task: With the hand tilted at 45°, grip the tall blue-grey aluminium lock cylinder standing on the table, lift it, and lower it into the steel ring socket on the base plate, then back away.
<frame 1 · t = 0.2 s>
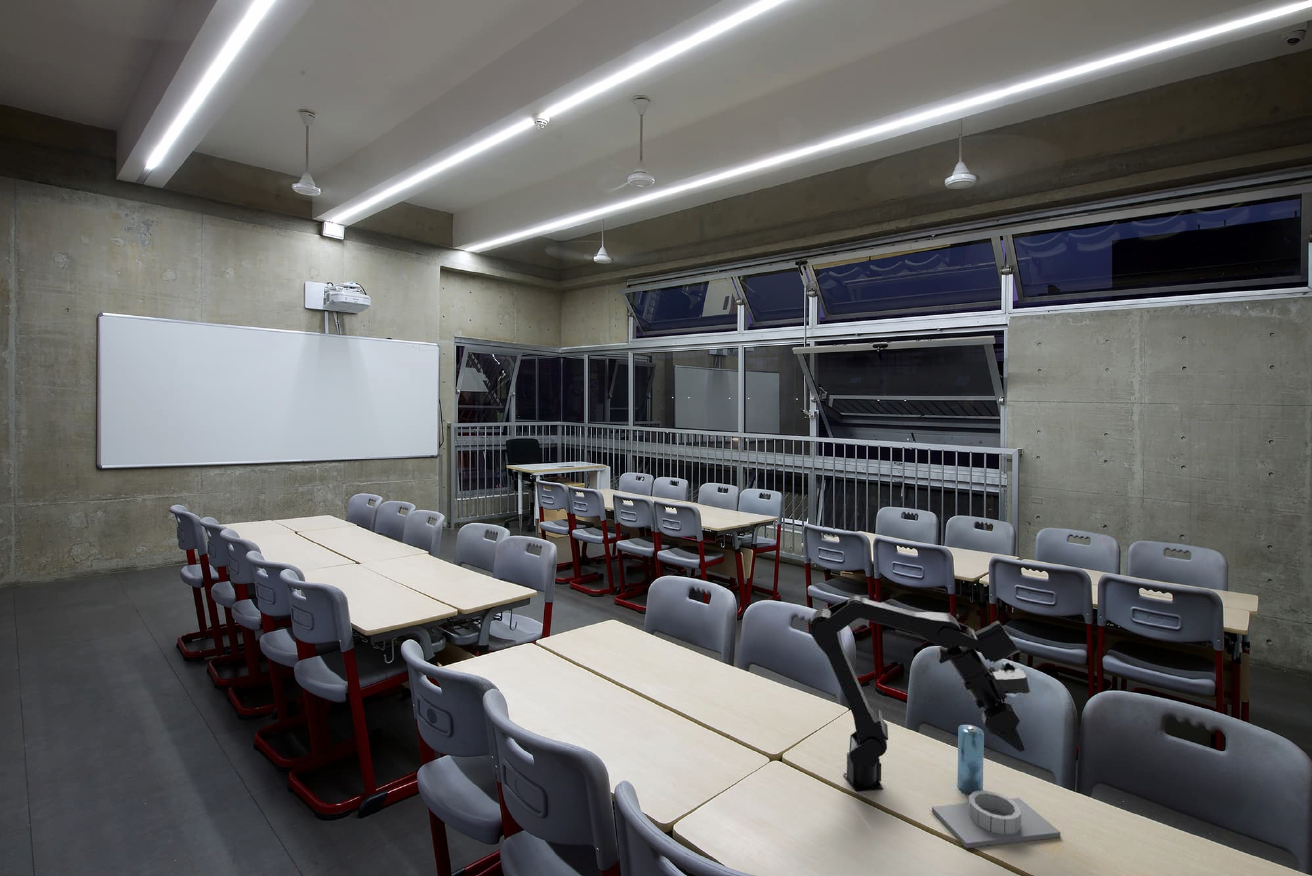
hand: (1017, 739, 128), 15 cm above the table, tool tilted 35°, fingers open, 9 cm apart
lock cylinder: (969, 788, 136), on the table
socket plate: (994, 824, 124), on the table
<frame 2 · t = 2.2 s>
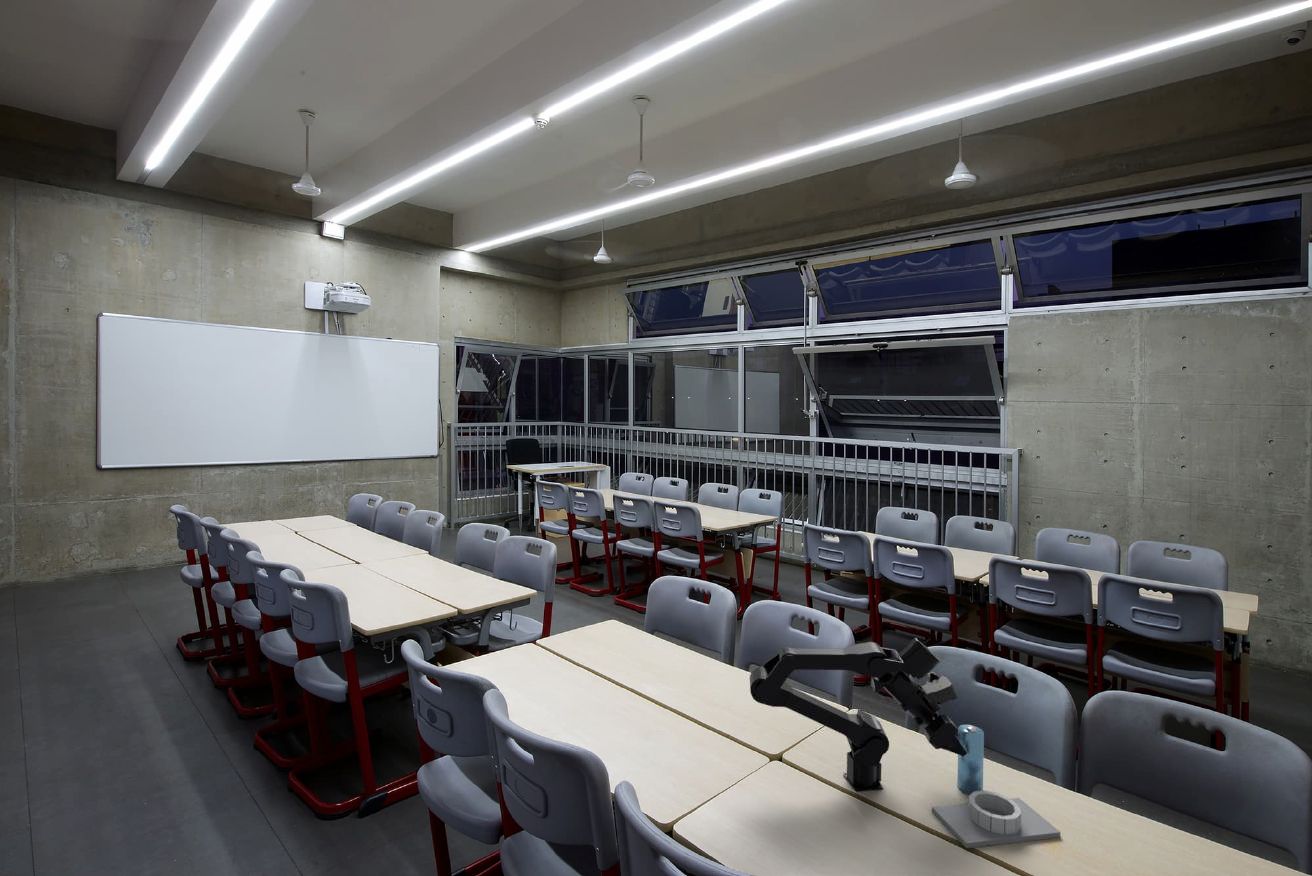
hand: (957, 743, 136), 10 cm above the table, tool tilted 45°, fingers open, 9 cm apart
nothing on the table moved.
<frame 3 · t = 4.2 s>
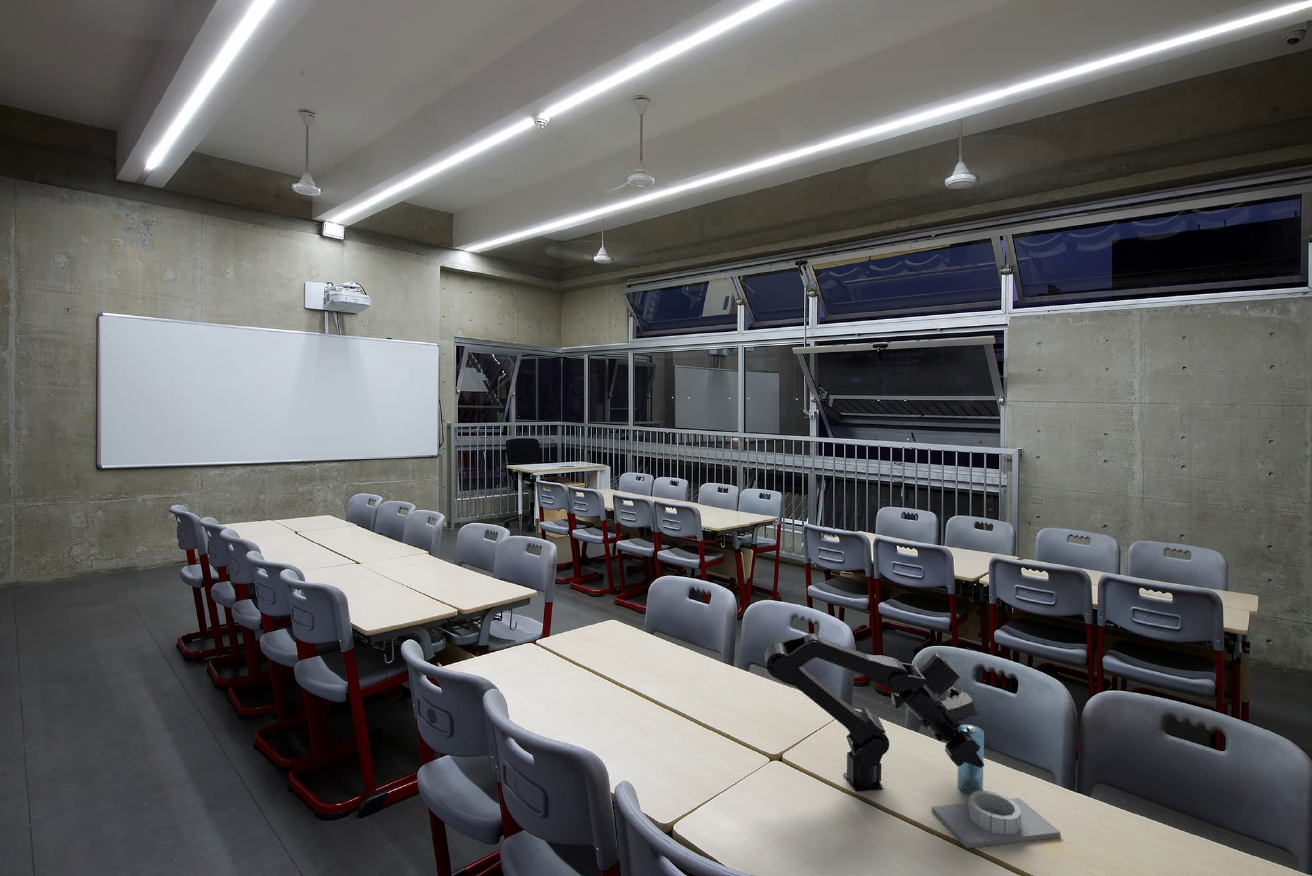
hand: (977, 759, 135), 7 cm above the table, tool tilted 45°, fingers closed on lock cylinder, 5 cm apart
lock cylinder: (970, 788, 136), on the table, touching gripper
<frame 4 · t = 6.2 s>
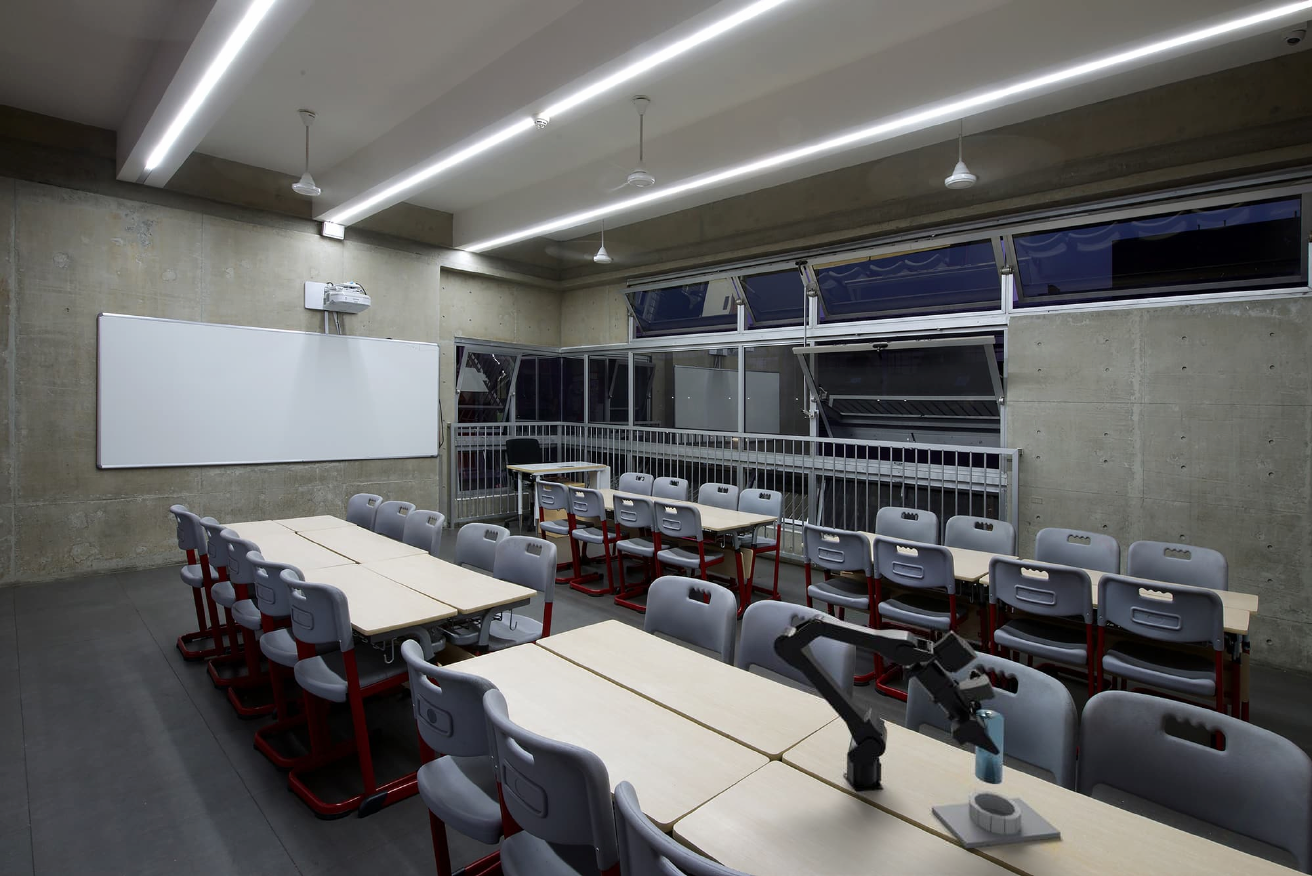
hand: (996, 747, 127), 14 cm above the table, tool tilted 45°, fingers closed on lock cylinder, 5 cm apart
lock cylinder: (988, 777, 128), point 7 cm above the table, touching gripper
when the fingers open (9 cm above the table, at t = 8.4 s): lock cylinder drops 1 cm, resting on socket plate.
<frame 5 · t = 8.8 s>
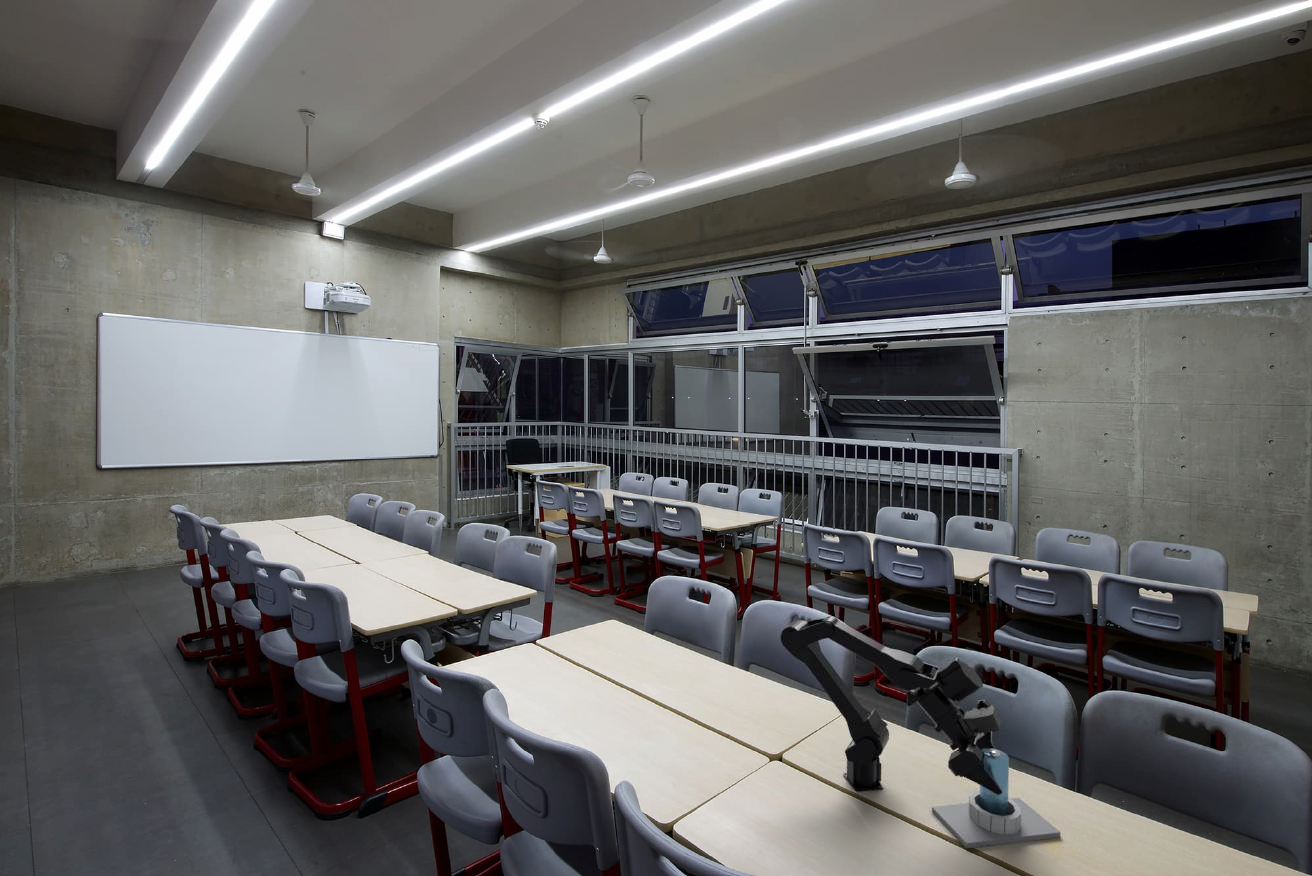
hand: (1002, 782, 123), 9 cm above the table, tool tilted 45°, fingers open, 9 cm apart
lock cylinder: (993, 818, 124), point 1 cm above the table, touching socket plate
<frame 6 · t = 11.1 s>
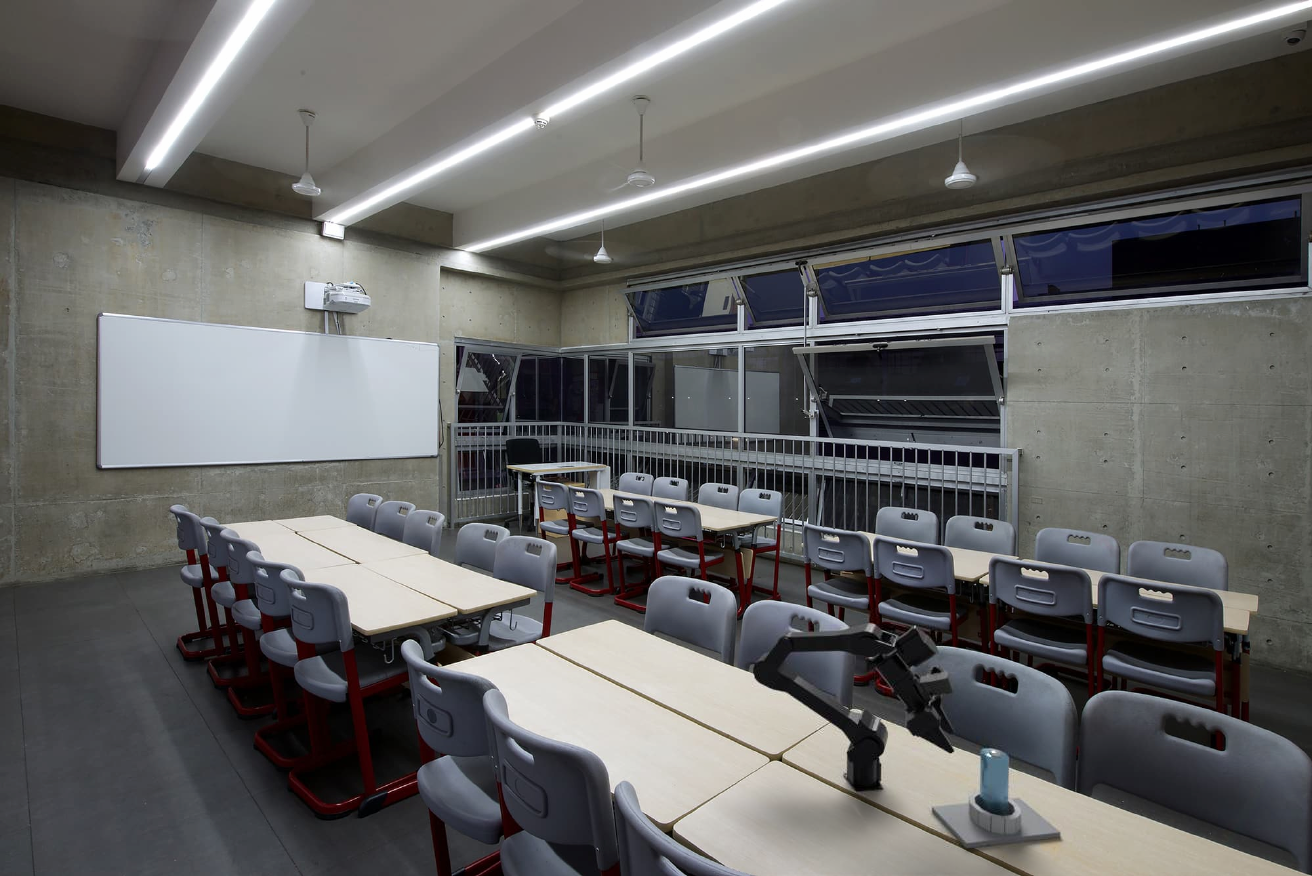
hand: (952, 742, 129), 13 cm above the table, tool tilted 40°, fingers open, 9 cm apart
nothing on the table moved.
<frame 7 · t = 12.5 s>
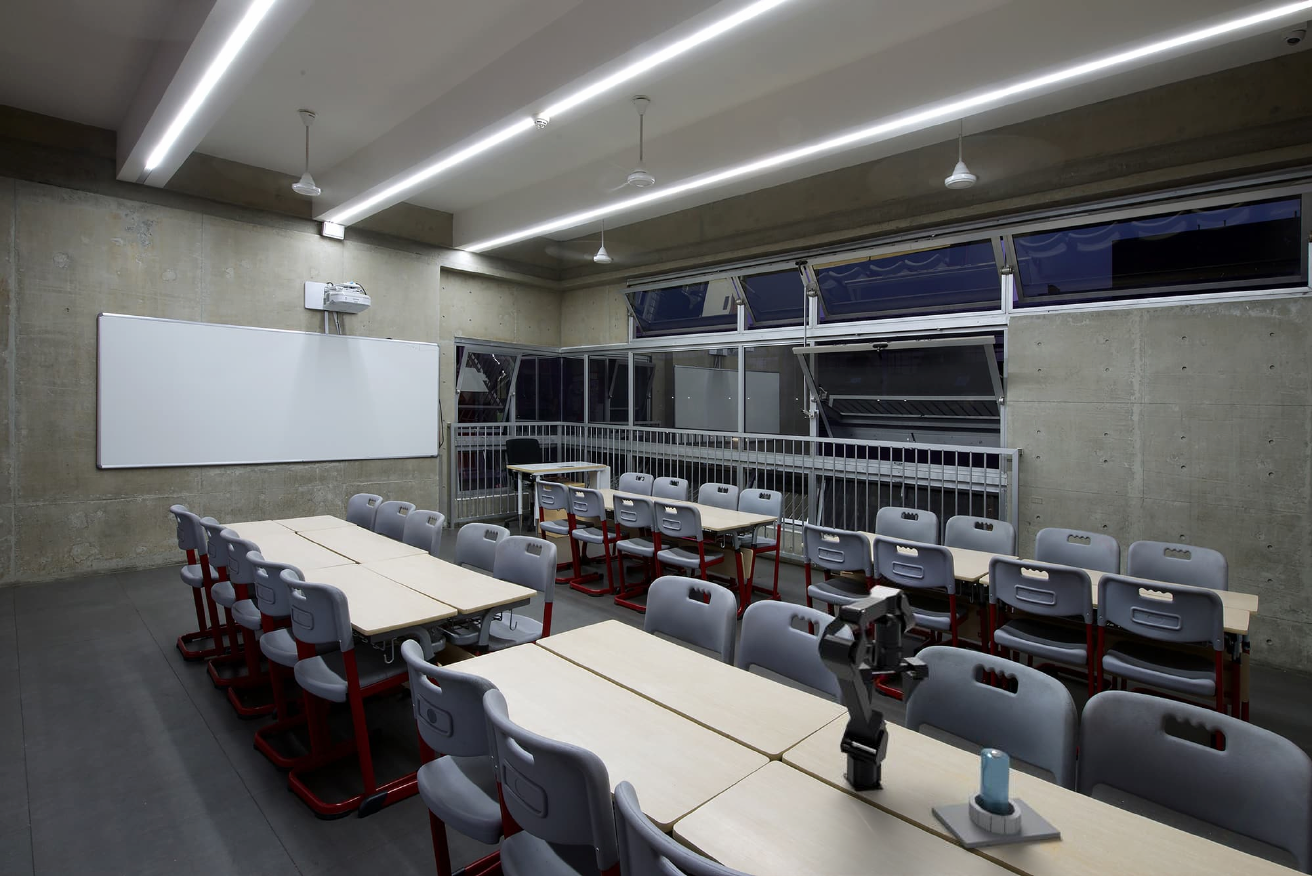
hand: (886, 704, 147), 13 cm above the table, tool pointing down, fingers open, 9 cm apart
nothing on the table moved.
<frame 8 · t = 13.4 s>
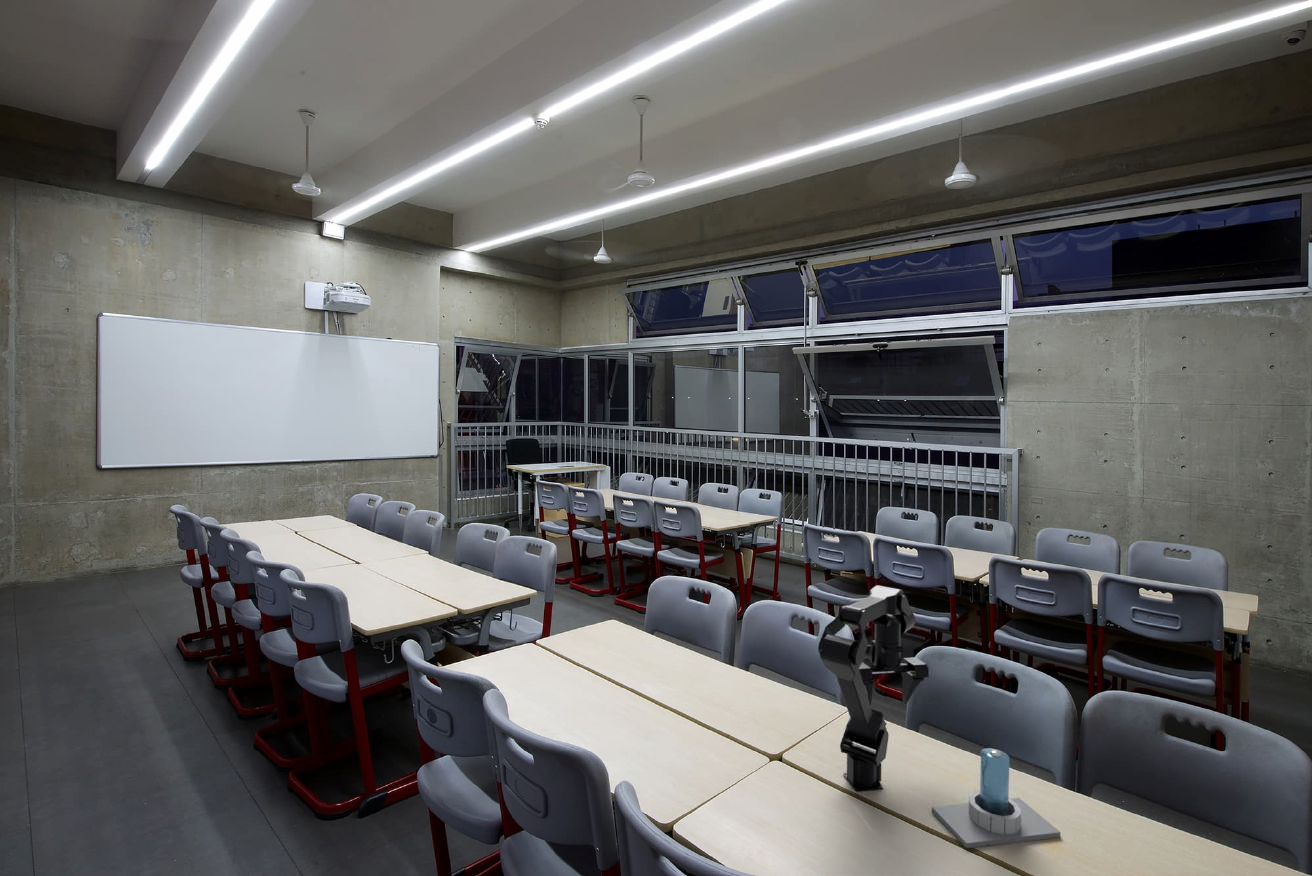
hand: (886, 704, 147), 13 cm above the table, tool pointing down, fingers open, 9 cm apart
nothing on the table moved.
at the end: lock cylinder 0.1 cm off-centre on the socket plate, point 1.0 cm above the socket plate's base; lock cylinder tilted 1°; the gripper is holding nothing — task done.
